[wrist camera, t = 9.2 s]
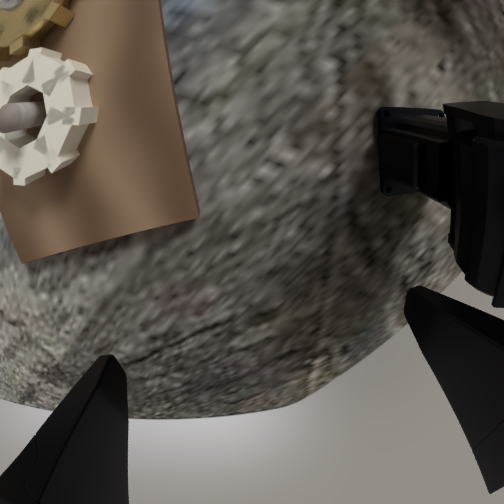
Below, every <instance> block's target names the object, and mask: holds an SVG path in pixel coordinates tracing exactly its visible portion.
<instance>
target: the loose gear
mask: <svg viewBox="0 0 504 504" xmlns="http://www.w3.org/2000/svg"><path fill="white" fill-rule="evenodd" d="M61 56H62V53H59V52H56V51H53V50H50V49H46V48H43V47H41V48H34V49H30V50H29V54H28V57H26V58H24V59H23V60H21V61H20V62H18V63H17V64H15V65H14V66H12V67H11V68H8V67H2V69H1V70H0V108H1V107H2V106H3V105H5V104H8V103H21V102H30V100H31V98H32V95H34V94H35V93H37V92H39V91H40V92H42V93H43V97H44V103H45V109H46V114H47V117H46V119H45V121H44V123H43V126H42V128H41V130H40V133H39V135H38V138H37V139H36V138H34V137H33V136H31V135H29V134H28V133H27V129H22V130H18V131H13V132H9V133H1V132H0V169H1V170H3V171H4V172H6V173H7V174H9V175H10V176H12V177H13V185H21V186H25V185H27V184H29V183H31V182H32V181H34V180H36V179H38V178H40V177H42V176H44V175H45V169H46V168H48V169H49V171H50V172H51V174H52V173H54V172H56V171H58V170H60V169H62V168H64V167H66V166H68V165H70V164H71V163H72V162H73V161H74V160H75V159H76V158H77V157H78V156H79V155H80V153H79V151H78V150H77V148H78V145H79V143H80V141H81V139H82V137H83V135H84V133H85V131H86V129H87V127H88V125H89V124H90V123H96V122H97V116H98V110H99V107H92V101H91V96H90V90H89V84H88V79H89V78H90V77H91V76H92V75H93V74H92V72H91V71H90V69H89V68H88V66H87V65H86V64H83V63H80V62H77V61H74V60H71V59H67V60H66V61H65V62H64V61H62V60H61Z"/></svg>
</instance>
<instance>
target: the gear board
mask: <svg viewBox="0 0 504 504" xmlns="http://www.w3.org/2000/svg"><path fill="white" fill-rule="evenodd" d="M68 10H70V11H71V12H73V13H74V14H75V15H74V16H73V18H72V19H71V20H70V22H69V23H68V25H67V26H66V28H65V27H62V26H59V25H57V26H56V28H55V29H54V30H53V31H52V32H51V33H50V34H49V35H47V36H46V37H45V38H44V39H43V40H41V47H43V48H46V49H50V50H53V51H56V52H59V53H62V56H61V60H62V61H64V62H65V61H66V60H67V59H71V60H74V61H77V62H80V63H83V64H86V65H87V66H88V68H89V69H90V71H91V72H92V74H93V75H92V76H91V77H90V78H89V79H88V84H89V90H90V96H91V101H92V107H99V110H98V116H97V122H96V123H90V124H89V125H88V127H87V129H86V131H85V133H84V135H83V137H82V139H81V141H80V143H79V145H78V148H77V150H78V151H79V153H80V155H79V156H78V157H77V158H76V159H75V160H74V161H73V162H72V163H71V164H70V165H68V166H66V167H64V168H62V169H60V170H58V171H56V172H54V173H52V174H51V172H50V171H49V169H48V168H46V169H45V175H44V176H42V177H40V178H38V179H36V180H34V181H32V182H31V183H29V184H27V185H25V186H21V185H13V177H12V176H10V175H9V174H7V173H6V172H4V171H3V170H1V169H0V210H1V213H2V216H3V219H4V221H5V224H6V227H7V229H8V232H9V234H10V237H11V239H12V242H13V244H14V246H15V249H16V251H17V253H18V256H19V258H20V260H21V262H22V264H23V263H26V262H29V261H33V260H36V259H39V258H43V257H46V256H50V255H53V254H57V253H60V252H64V251H67V250H71V249H74V248H78V247H82V246H85V245H89V244H93V243H96V242H100V241H104V240H108V239H112V238H116V237H120V236H124V235H128V234H132V233H136V232H140V231H144V230H148V229H152V228H156V227H161V226H165V225H169V224H174V223H178V222H182V221H187V220H191V219H196V218H199V212H200V209H199V205H198V200H197V196H196V192H195V187H194V183H193V178H192V174H191V169H190V164H189V160H188V155H187V150H186V145H185V141H184V136H183V131H182V126H181V121H180V115H179V110H178V105H177V100H176V94H175V89H174V83H173V78H172V72H171V66H170V60H169V54H168V48H167V42H166V35H165V28H164V22H163V15H162V7H161V0H72V3H71V5H70V7H69V9H68ZM24 58H26V57H21V56H15V55H11V56H10V58H9V60H8V61H0V70H1V69H2V67H8V68H11V67H12V66H14V65H15V64H17V63H18V62H20V61H21V60H23V59H24ZM46 117H47V114H46V109H45V103H44V97H43V93H42V92H40V91H39V92H37V93H35V94H34V95H32V98H31V100H30V102H21V103H8V104H5V105H3V106H2V107H1V108H0V132H1V133H9V132H13V131H18V130H22V129H27V133H28V134H29V135H31V136H33V137H34V138H36V139H37V138H38V135H39V133H40V130H41V128H42V126H43V123H44V121H45V119H46Z"/></svg>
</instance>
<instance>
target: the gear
mask: <svg viewBox="0 0 504 504" xmlns="http://www.w3.org/2000/svg"><path fill="white" fill-rule="evenodd" d="M71 3H72V0H0V61H8V60H9V58H10V56H11V55H15V56H21V57H28V54H29V50H30V49H34V48H41V40H43V39H44V38H45V37H46V36H47V35H49V34H50V33H51V32H52V31H53V30H54V29H55V28H56V26H57V25H59V26H62V27H65V28H66V26H67V25H68V23H69V22H70V20H71V19H72V18H73V16H74V15H75V14H74V13H73V12H71V11H70V10H68V9H69V7H70V5H71Z"/></svg>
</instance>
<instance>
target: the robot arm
mask: <svg viewBox="0 0 504 504" xmlns="http://www.w3.org/2000/svg"><path fill="white" fill-rule="evenodd" d="M443 109H444V113H443V111H442V110H436V109H424V108H406V107H380V108H379V109H378V127H379V137H378V145H379V171H380V190H381V193H382V194H384V195H386V196H393V195H399V194H406V193H412V192H420V193H422V194H423V195H425V196H427V197H429V198H431V199H433V200H435V201H437V202H438V203H440V204H442V205H444V206H446V207H447V208H449V209H451V223H450V233H449V234H448V243H449V244H450V246H451V247H452V249H453V251H454V255H455V259H456V263H457V264H458V265H459V267H460V268H461V270H462V271H463V272H464V274H465V280H466V282H468V283H469V284H470V285H472V286H473V287H474V288H476V289H477V290H479V291H481V292H483V293H485V294H486V295H489V296H493V300H492V306H493V307H496V308H504V103H497V102H490V101H475V102H459V103H446V104H443ZM384 111H385V112H386V116H384ZM444 114H446V118H445V116H444ZM438 115H439V116H438ZM387 187H389V188H388V190H387V191H386V188H387ZM404 315H405V317H406V320H407V322H408V324H409V326H410V328H411V330H412V332H413V334H414V336H415V338H416V341H417V343H418V345H419V347H420V349H421V351H422V353H423V355H424V357H425V359H426V360H427V362H428V364H429V365H430V367H431V369H432V371H433V373H434V375H435V376H436V378H437V380H438V382H439V384H440V386H441V387H442V389H443V391H444V393H445V395H446V397H447V399H448V401H449V403H450V405H451V407H452V408H453V411H454V412H455V414H456V416H457V419H458V421H459V423H460V425H461V427H462V429H463V431H464V433H465V436H466V438H467V440H468V442H469V444H470V447H471V449H472V451H473V454H474V456H475V459H476V461H477V463H478V466H479V468H480V471H481V473H482V476H483V478H484V481H485V484H486V486H487V489H488V492H489V493H490V494H491V493H493V492H495V491H497V490H499V489H500V488H502V487H504V320H502V319H500V318H497V317H495V316H493V315H490V314H488V313H485V312H483V311H481V310H479V309H476V308H474V307H471V306H469V305H467V304H464V303H462V302H460V301H457V300H454V299H452V298H450V297H447V296H445V295H443V294H440V293H438V292H435V291H433V290H430V289H428V288H425V287H423V286H415V287H413V288H410V289H409V290H408V291H407V296H406V300H405V305H404ZM0 504H129V496H128V402H127V378H126V374H125V371H124V370H123V368H122V367H121V365H120V364H119V362H118V361H117V359H116V358H115V357H114V356H113V355H111V354H109V355H101V356H99V357H98V359H97V360H96V361H95V362H94V363H93V364H92V366H91V367H90V368H89V369H88V370H87V371H86V373H85V374H84V375H83V376H82V377H81V378H80V380H79V381H78V382H77V383H76V384H75V386H74V387H73V388H72V389H71V390H70V392H69V393H68V394H67V395H66V396H65V398H64V399H63V400H62V401H61V403H60V404H59V405H58V406H57V408H56V409H55V410H54V411H53V413H52V414H51V415H50V416H49V417H48V419H47V420H46V421H45V423H44V424H43V425H42V426H41V428H40V429H39V430H38V431H37V433H36V435H34V436H33V438H32V439H31V440H30V442H29V443H28V444H27V446H26V447H25V448H24V449H23V451H22V452H21V453H20V455H19V456H18V457H17V458H16V459H15V460H14V461H13V462H12V464H11V465H10V466H9V467H8V468H7V469H6V470H5V471H4V472H3V474H2V475H1V476H0Z"/></svg>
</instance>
